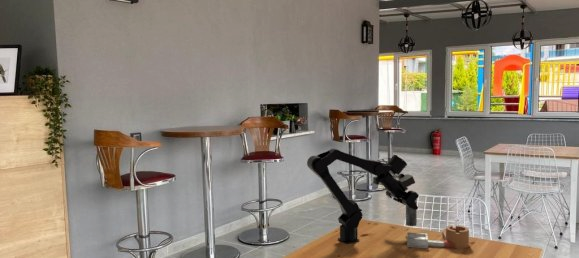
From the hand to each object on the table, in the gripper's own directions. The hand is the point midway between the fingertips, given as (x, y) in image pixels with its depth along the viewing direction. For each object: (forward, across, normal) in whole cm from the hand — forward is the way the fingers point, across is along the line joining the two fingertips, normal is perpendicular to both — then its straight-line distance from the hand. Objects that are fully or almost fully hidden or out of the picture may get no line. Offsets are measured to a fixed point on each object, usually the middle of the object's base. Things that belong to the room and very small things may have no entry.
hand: (414, 207), depth 190 cm
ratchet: (+7, -15, +9) cm, 19 cm away
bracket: (+16, -13, +1) cm, 21 cm away
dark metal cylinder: (+4, 0, +6) cm, 7 cm away
